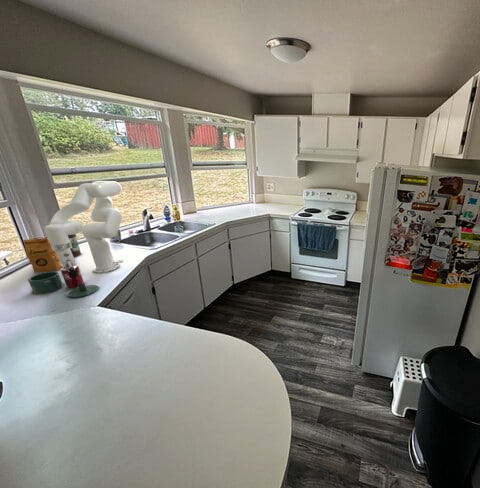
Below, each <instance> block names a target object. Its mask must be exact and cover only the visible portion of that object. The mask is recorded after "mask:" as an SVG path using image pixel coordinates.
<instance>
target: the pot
mask: <svg viewBox="0 0 480 488" xmlns="http://www.w3.org/2000/svg"><path fill="white" fill-rule="evenodd" d="M59 273H60V272H58V271H47V272H38V273H37V274H35V275H32V276H30V277H28V279H27V281H28V283H29V286H30V288H31V290H32V292H33V294H35V295H43V294H49V293H52V292H55V291H58V290H59V289H61V288H62V287H63V286H64V283H63V281H62V278H61V275H60V274H59Z"/></svg>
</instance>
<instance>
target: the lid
mask: <svg viewBox="0 0 480 488" xmlns="http://www.w3.org/2000/svg"><path fill="white" fill-rule="evenodd" d="M77 285H78V288H74V289H71V290H70V291H69V292H68V293H67V296H68V298H80V297H85V296H89V295H91V294H93V293H95V292H97V291H98V290H99V285H97V284H89V285H86V284H85V281H84V282H81V283H78V284H77Z"/></svg>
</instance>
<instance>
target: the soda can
mask: <svg viewBox="0 0 480 488" xmlns="http://www.w3.org/2000/svg"><path fill="white" fill-rule="evenodd" d="M73 266H74V268H75V270H76V273H77V275H78V276H77V277H74V278H70V277H69V274H68V270H67V268H66V267H64V266H62V267H61V268H60V273H61V275H62V278H63V280H64V284H65V286H66V288H67V289H70V290H74V289H76V288H79V287H78V285H77V284H78V283H81V282H84V283H85V281H84V279H83V276H82V273H81V270H80V267H79V265H77V264H76V265H73Z"/></svg>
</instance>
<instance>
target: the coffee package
mask: <svg viewBox="0 0 480 488" xmlns="http://www.w3.org/2000/svg"><path fill="white" fill-rule="evenodd" d="M23 244H24V250H25V255H26V256H27V258H28V261H29V263H30V265H31V266H32V269H33V273H34V274H35V273H37V274H38V273H43V272H44V273H45V272H56V271H59V270H61V269H62V268H63V265H62V264H61V262H60V260H59V257H58V255H57V252H56V251H53V250H52V248H51V245H50V242H49V240H48V237H41V238H27V239H23Z"/></svg>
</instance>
